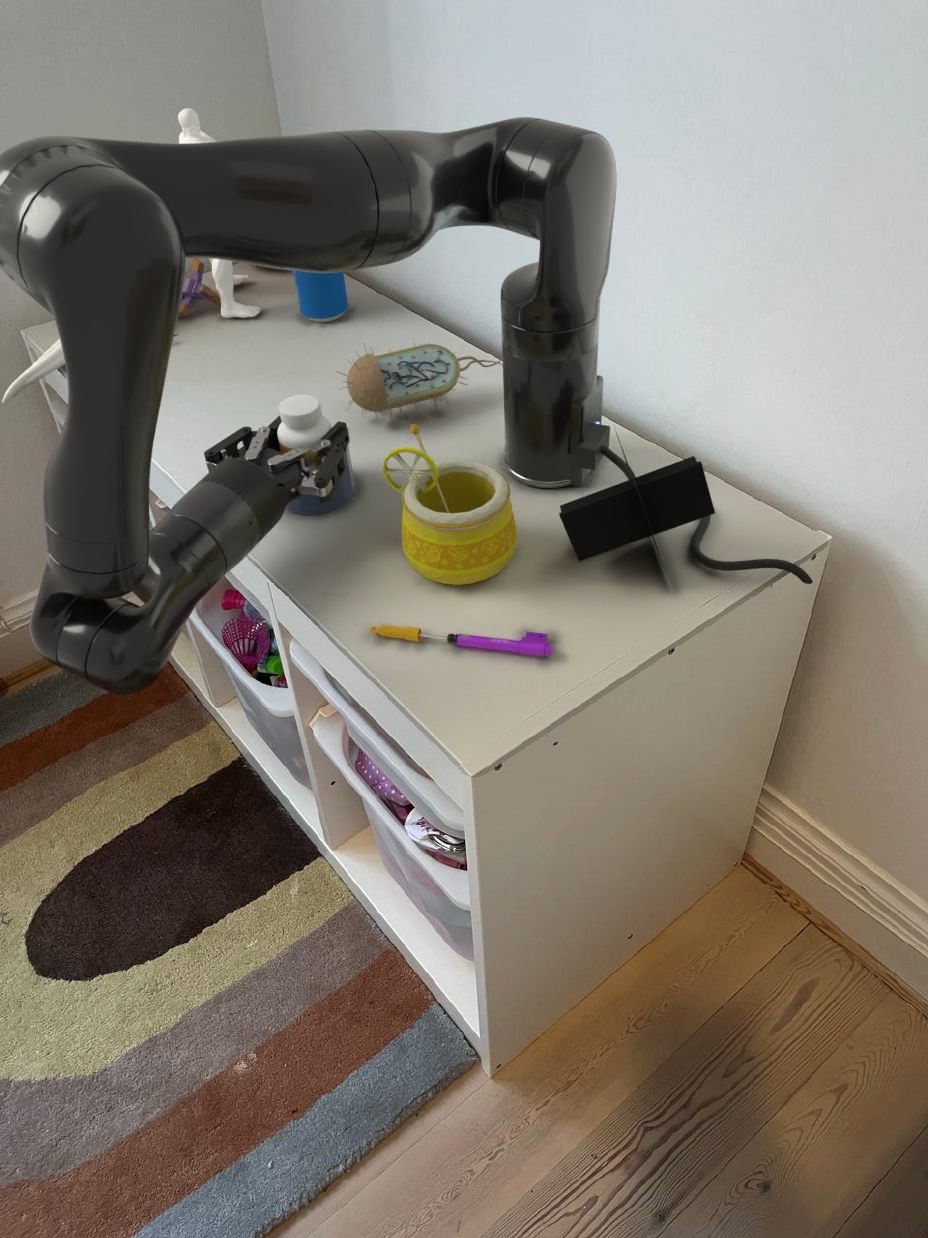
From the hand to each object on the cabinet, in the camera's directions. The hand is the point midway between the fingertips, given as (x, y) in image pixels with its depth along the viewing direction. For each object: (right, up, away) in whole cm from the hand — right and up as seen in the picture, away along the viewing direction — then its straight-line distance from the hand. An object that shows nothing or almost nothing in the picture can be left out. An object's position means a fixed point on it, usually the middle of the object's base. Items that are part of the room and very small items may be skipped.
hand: (318, 424), depth 98 cm
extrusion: (+31, -13, -15) cm, 37 cm away
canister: (-1, -6, +3) cm, 7 cm away
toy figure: (-24, +25, +32) cm, 48 cm away
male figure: (-17, +25, +37) cm, 47 cm away
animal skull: (-36, +14, +29) cm, 48 cm away
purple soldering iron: (+23, -22, -16) cm, 35 cm away
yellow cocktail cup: (+14, -13, -5) cm, 20 cm away
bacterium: (+11, +5, +14) cm, 18 cm away
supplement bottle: (-1, -6, +3) cm, 7 cm away
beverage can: (-4, +21, +33) cm, 40 cm away
